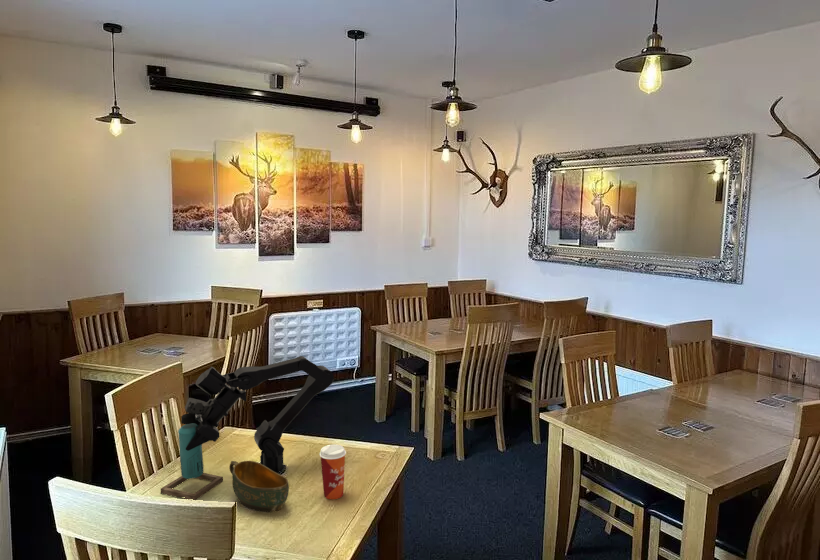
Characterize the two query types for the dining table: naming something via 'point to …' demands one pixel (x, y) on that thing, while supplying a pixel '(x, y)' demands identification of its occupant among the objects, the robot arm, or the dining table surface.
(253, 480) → the green bowl
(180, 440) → the beverage bottle
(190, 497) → the walnut collar
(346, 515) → the dining table surface
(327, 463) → the paper cup
